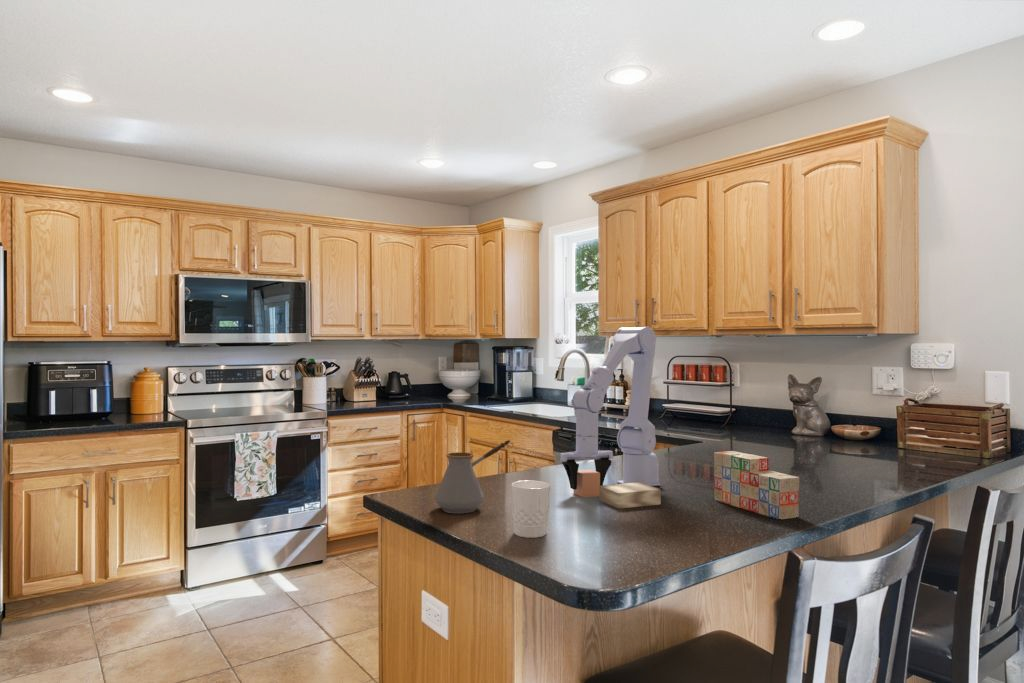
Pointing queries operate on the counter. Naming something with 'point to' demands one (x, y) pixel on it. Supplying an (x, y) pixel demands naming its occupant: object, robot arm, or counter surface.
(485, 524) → the counter surface
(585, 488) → the terracotta block
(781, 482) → the stack of blocks
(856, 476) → the counter surface
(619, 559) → the counter surface
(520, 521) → the white cup
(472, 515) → the counter surface
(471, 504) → the coffee pot
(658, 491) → the birch block
